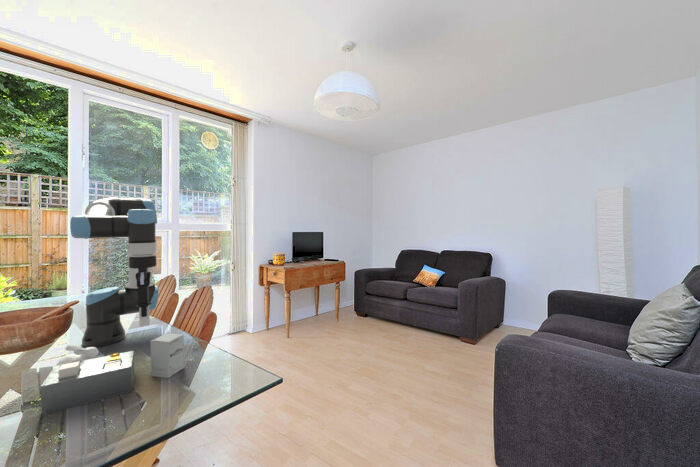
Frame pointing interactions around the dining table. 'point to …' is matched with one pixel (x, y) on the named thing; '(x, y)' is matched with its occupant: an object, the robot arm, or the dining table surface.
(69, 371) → the block
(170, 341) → the supplement box
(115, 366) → the block
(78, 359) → the rabbit
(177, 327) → the dining table surface
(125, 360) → the block
